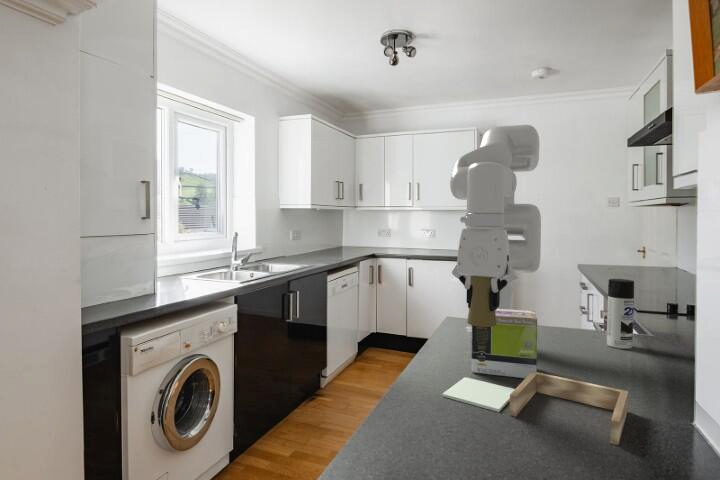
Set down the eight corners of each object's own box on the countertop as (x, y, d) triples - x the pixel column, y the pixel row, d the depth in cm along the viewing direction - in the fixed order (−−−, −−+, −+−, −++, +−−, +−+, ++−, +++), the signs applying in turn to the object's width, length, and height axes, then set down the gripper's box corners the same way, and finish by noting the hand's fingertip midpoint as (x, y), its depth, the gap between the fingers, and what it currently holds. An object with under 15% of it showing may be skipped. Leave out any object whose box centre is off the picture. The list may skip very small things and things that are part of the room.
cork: (498, 327, 87) (499, 274, 87) (467, 325, 89) (468, 273, 88) (495, 320, 93) (496, 270, 93) (466, 319, 94) (467, 269, 94)
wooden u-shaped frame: (509, 415, 82) (509, 394, 82) (531, 388, 95) (532, 371, 95) (618, 445, 71) (619, 421, 71) (627, 411, 84) (628, 391, 84)
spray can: (622, 350, 124) (625, 282, 123) (600, 344, 130) (603, 278, 129) (637, 348, 126) (640, 280, 125) (615, 342, 132) (618, 277, 131)
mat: (442, 396, 90) (442, 393, 90) (464, 379, 100) (464, 377, 100) (498, 412, 83) (499, 409, 83) (517, 392, 93) (517, 389, 93)
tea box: (534, 367, 109) (536, 310, 108) (536, 381, 99) (538, 318, 99) (473, 360, 114) (474, 305, 113) (470, 373, 104) (471, 313, 104)
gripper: (440, 221, 92) (438, 306, 93) (520, 223, 82) (517, 317, 83) (454, 221, 98) (453, 301, 99) (531, 222, 88) (528, 311, 89)
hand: (482, 307), depth 91 cm, fingers closed on cork, 3 cm apart
